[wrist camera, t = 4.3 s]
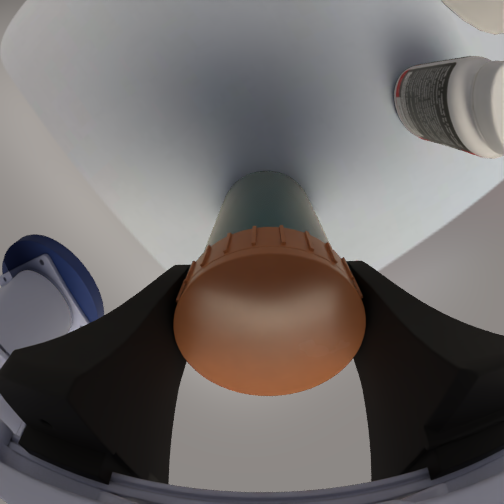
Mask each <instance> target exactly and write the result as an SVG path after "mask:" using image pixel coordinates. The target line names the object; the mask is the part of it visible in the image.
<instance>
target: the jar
mask: <svg viewBox="0 0 504 504" xmlns="http://www.w3.org/2000/svg"><path fill="white" fill-rule="evenodd" d="M280 225H283V226H284V228H288V229H294V230H297V231H301V232H304V233H305V231H308V232H309V234H310V235H311V236H313V237H316V238H318V239H319V240H321V241H322V242H324V243H327V242H328V243H329V241H328V239H327V236H326V234H325V232H324V230H323V228H322V226H321V224H320V222H319V219H318V217H317V215H316V213H315V211H314V209H313V207H312V205H311V203H310V201H309V199H308V197H307V195H306V193H305V191H304V190H303V189H302V187H301V186H300V185H299V184H298V183H297V182H296V181H295V180H293V179H292V178H290V177H288V176H287V175H284V174H282V173H278V172H273V171H260V172H255V173H251V174H249V175H247V176H245V177H243V178H241V179H240V180H238V181H237V182H236V183H235V184H234V185H233V186H232V187H231V188H230V190H229V191H228V193H227V195H226V197H225V199H224V202H223V204H222V207H221V209H220V212H219V214H218V217H217V219H216V222H215V224H214V227H213V229H212V232H211V234H210V237H209V240H208V242H207V245H206V247H207V246H208V245H210V246H212V245H213V244H215V243H216V242H218V241H219V240H221V239H223V238H225V237H227V234H228V233H230V232H231V234H234V233H237V232H240V231H243V230H248V229H253V226H257V228H261V227H279V226H280ZM206 247H205V250H206ZM205 250H204V252H205Z"/></svg>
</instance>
